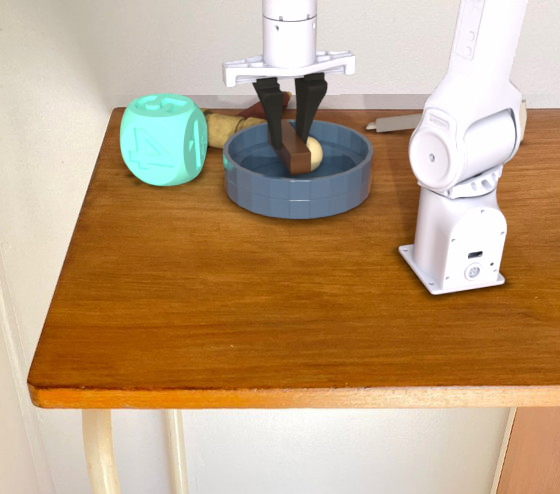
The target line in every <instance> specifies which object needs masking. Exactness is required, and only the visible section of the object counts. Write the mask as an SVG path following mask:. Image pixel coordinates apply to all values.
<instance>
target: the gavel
mask: <svg viewBox="0 0 560 494" xmlns="http://www.w3.org/2000/svg"><path fill="white" fill-rule="evenodd" d="M281 91H282V92H283V94H284V98H283V106H282V112H283V111H285V110H286V109H287V108H288V106H289V103H290V101H291V99H292V97H293V94H292V92H291V91H286V90H281ZM199 108H200V110H201V111H202V112H203V114H204V117H205V120H206V124H207V147H211V148H217V149H220V150H221V149H222V150H223V146H224V144H225V142H226V141H227V140H228V138H229V137H230V136H232V135H233V134H235V133H236V132H238V131H239V130H242V129H244V128H247V127H249V126H252V125H255V124H260V123H264V122H267V120H266V116H265V113H264V110H263V108H262V105H261V102H260V100H259V101H258V102H255V103H254V104H252V105H250V106H249V107H247V108H245V109H243V110H242V111H240V112H239V113H238V114H237V115H236V116H232V115H227V114H222V113H216V112H215V113H213V111H212V110H211V109H209V108H205V107H199Z"/></svg>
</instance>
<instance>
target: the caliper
mask: <svg viewBox="0 0 560 494" xmlns="http://www.w3.org/2000/svg"><path fill="white" fill-rule="evenodd" d="M526 101H527V100H526V99H522V102H521V106H520V114H519V117H520V126H521V140H520V142H522V141H523V139H524V135H525V129H526V125H527V119H528V111H527V102H526ZM422 114H423V113H414V114H405V115H396V116H387V117H379V118H376V119H375V122H370V123H368V124H367V125H366V128H365V129H366V130H373V129H375V130H376V133H383V132H393V131H401V130H403V131H404V130H411V129H416V127H417V126H418V124H419V122H420V120H421V118H422Z"/></svg>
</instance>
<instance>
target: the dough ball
mask: <svg viewBox="0 0 560 494" xmlns="http://www.w3.org/2000/svg"><path fill="white" fill-rule="evenodd" d="M306 146H307V147H308V149H309V150H310V151H311V171H313V170H315V169H316V168H317V167H318V166H319V165H320V163H321V161H322V157H323V151H322V147H321V145H320V144H319V142H318V141H317V140H316V139H314V138H312V137H308V140H307V145H306Z"/></svg>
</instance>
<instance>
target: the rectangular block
mask: <svg viewBox="0 0 560 494" xmlns="http://www.w3.org/2000/svg"><path fill="white" fill-rule="evenodd" d="M281 127H282V144H281V149H280V150H275V148H274V147H273V145H272V144H271V138H270V132H269V127H268V123H267V139H268V142H269V144H270V145H271V147H272V148H273V150H274V151H275V153H276V154H277V156H278V157H279V159H280V160H281V162H282V163H283V165H284V166H285V168H286V169H287V171H288V172H289V174H290V175H299V174H307V173H311V151H310V150H309V149H308V147H307V146H306V144H305V143H304V142H303V140H302V139H301V138H300V137H299V135H298V134H297V133H296V131H295V130H294V128H293V127H292V126H291V124H290V123H289V122H288V120H287V118H281Z"/></svg>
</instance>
